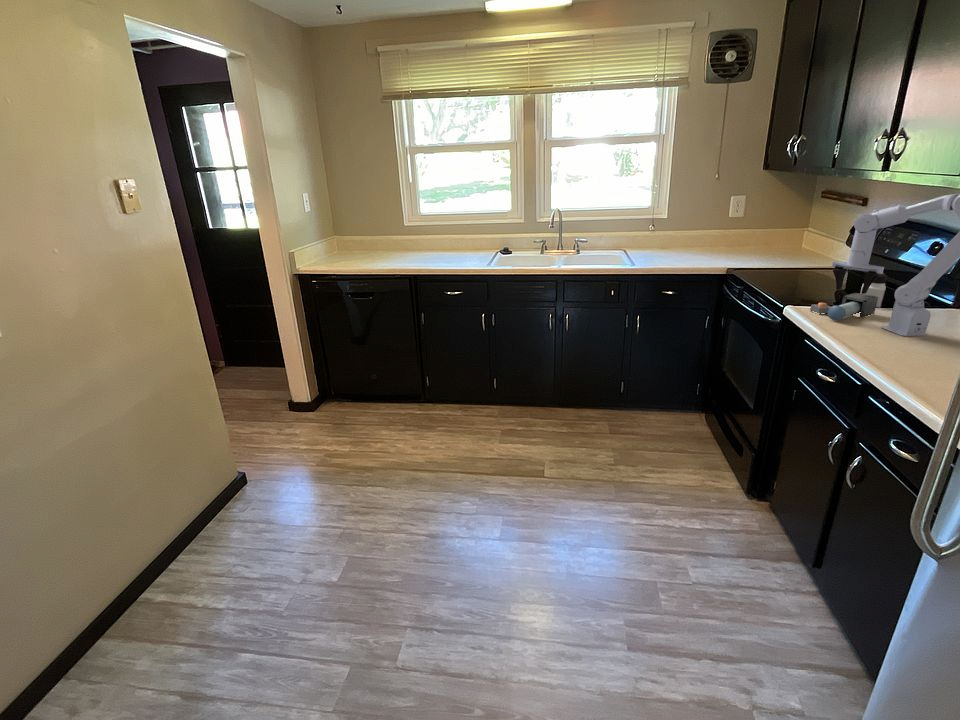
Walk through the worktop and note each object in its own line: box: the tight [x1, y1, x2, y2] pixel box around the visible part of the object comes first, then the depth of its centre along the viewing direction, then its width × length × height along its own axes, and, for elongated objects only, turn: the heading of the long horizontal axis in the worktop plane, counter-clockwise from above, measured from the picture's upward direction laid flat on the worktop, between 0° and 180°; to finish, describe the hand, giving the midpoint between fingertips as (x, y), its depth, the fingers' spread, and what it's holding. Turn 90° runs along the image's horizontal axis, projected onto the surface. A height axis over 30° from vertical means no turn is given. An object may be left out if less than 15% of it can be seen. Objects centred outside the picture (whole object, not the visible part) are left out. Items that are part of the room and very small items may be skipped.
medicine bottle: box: [859, 272, 888, 309], centre depth 192 cm, size 7×7×12 cm
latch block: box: [809, 304, 832, 313], centre depth 185 cm, size 5×5×2 cm
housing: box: [841, 292, 879, 318], centre depth 182 cm, size 9×7×6 cm
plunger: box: [818, 302, 828, 307], centre depth 185 cm, size 3×3×3 cm
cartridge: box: [827, 301, 863, 321], centre depth 178 cm, size 15×5×5 cm, turn 122°
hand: (850, 291), depth 174 cm, fingers open, 7 cm apart
